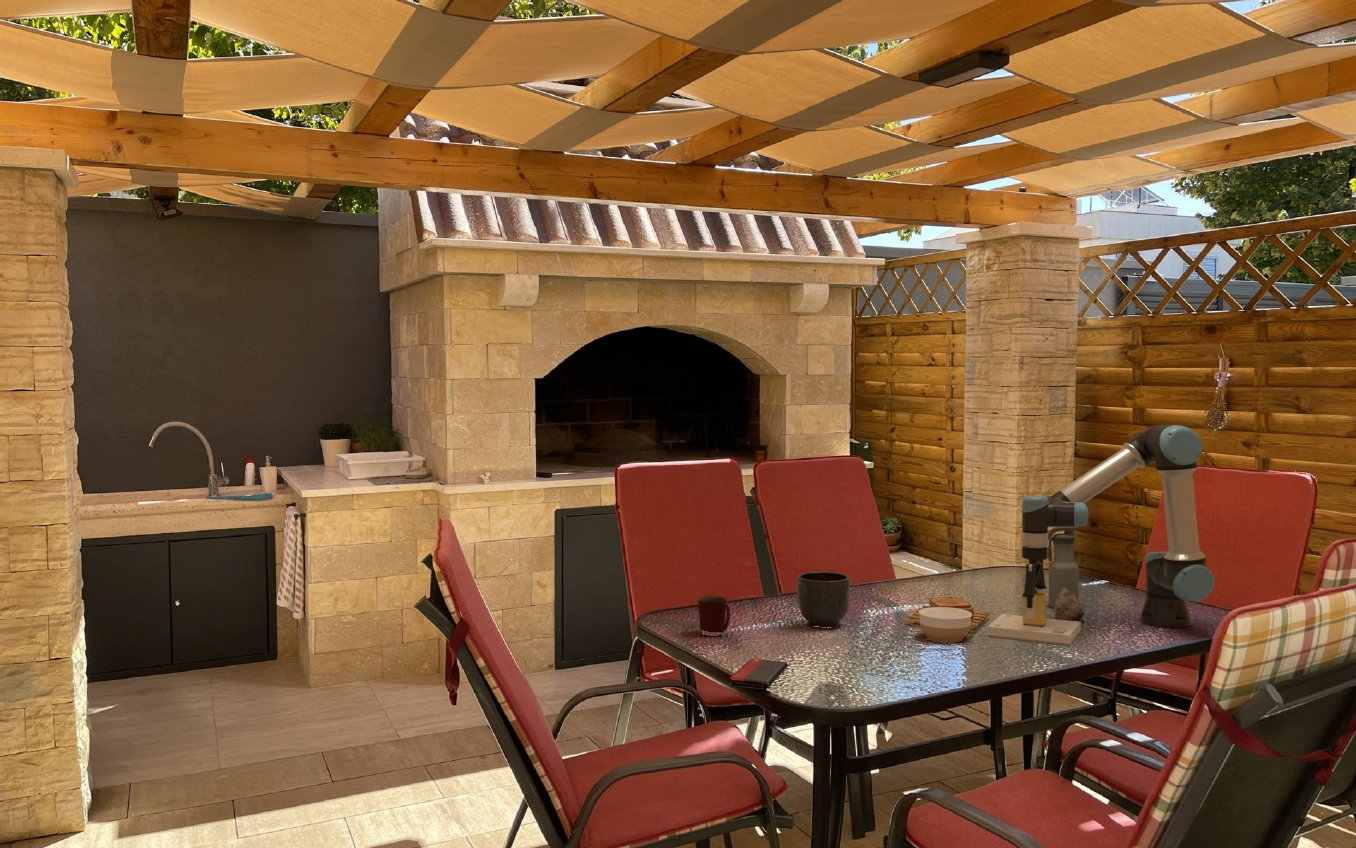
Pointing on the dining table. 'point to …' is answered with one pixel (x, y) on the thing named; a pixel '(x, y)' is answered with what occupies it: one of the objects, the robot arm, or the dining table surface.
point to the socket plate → (1035, 630)
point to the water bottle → (1062, 564)
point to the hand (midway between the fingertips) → (1034, 614)
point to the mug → (713, 614)
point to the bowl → (945, 623)
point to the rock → (1068, 606)
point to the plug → (1037, 611)
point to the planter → (823, 597)
